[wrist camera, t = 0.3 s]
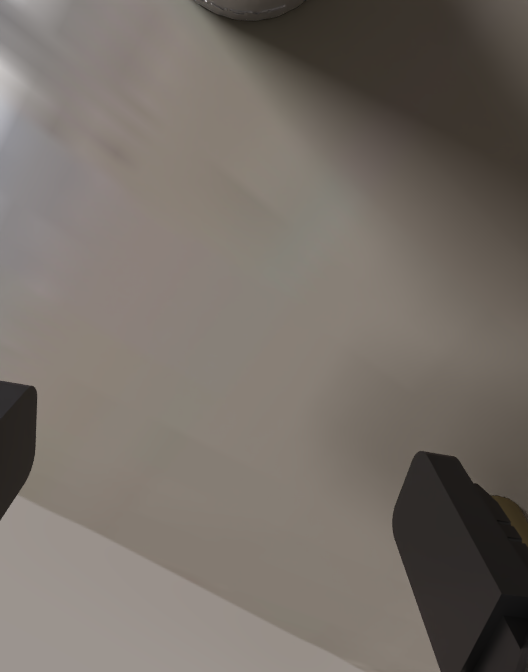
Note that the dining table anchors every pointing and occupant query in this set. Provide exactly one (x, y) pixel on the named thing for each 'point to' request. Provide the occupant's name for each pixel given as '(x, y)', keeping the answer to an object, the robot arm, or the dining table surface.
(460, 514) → the robot arm
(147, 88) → the dining table surface
